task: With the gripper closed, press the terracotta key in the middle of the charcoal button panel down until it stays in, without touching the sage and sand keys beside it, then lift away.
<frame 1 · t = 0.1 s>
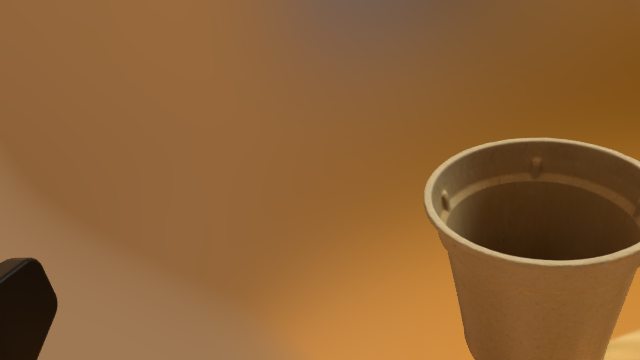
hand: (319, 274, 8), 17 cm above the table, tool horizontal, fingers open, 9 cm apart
flower pot: (532, 346, 28), on the table
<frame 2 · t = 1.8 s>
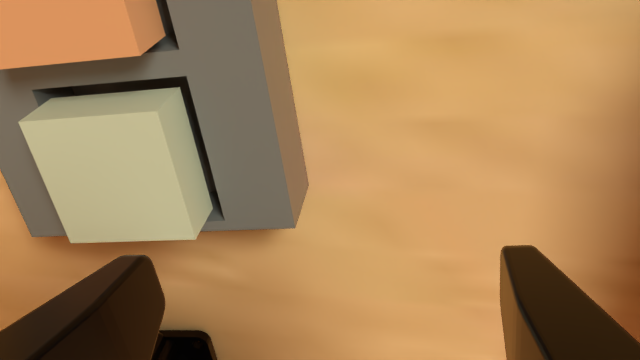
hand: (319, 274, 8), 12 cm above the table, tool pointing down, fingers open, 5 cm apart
sage key: (122, 168, 19), point 3 cm above the table, slide at 0.0 cm
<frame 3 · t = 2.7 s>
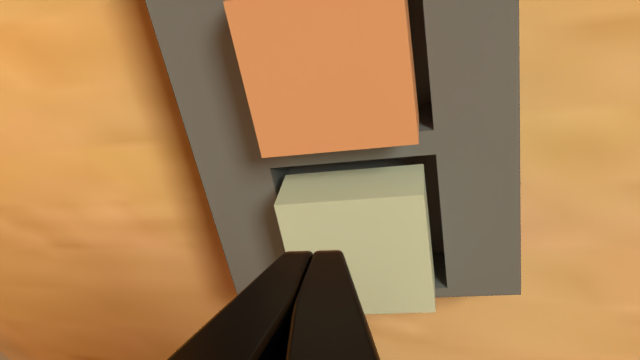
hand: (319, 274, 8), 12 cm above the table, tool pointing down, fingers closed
terracotta key: (329, 64, 16), point 3 cm above the table, slide at 0.0 cm
sage key: (360, 243, 19), point 4 cm above the table, slide at 0.0 cm
button panel: (343, 27, 19), on the table
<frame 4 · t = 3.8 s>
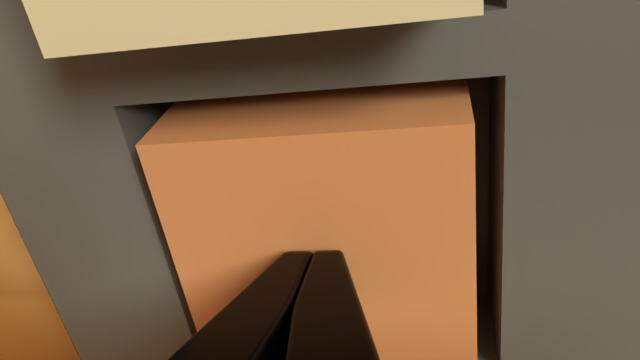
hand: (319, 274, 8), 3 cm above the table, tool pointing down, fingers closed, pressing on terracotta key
terracotta key: (327, 235, 9), point 2 cm above the table, slide at 1.1 cm, touching gripper
button panel: (344, 162, 11), on the table
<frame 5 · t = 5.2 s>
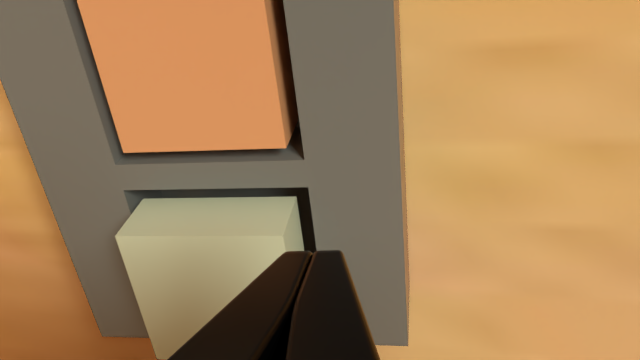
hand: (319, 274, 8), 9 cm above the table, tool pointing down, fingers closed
terracotta key: (196, 56, 15), point 2 cm above the table, slide at 1.5 cm
sage key: (223, 281, 16), point 3 cm above the table, slide at 0.0 cm
button panel: (219, 33, 16), on the table
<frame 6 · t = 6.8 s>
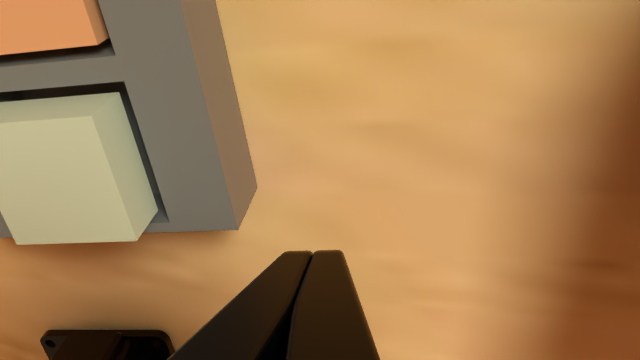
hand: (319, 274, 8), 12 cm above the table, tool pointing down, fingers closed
sage key: (65, 171, 19), point 4 cm above the table, slide at 0.0 cm
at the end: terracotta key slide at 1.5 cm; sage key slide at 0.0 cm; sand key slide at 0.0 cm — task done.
